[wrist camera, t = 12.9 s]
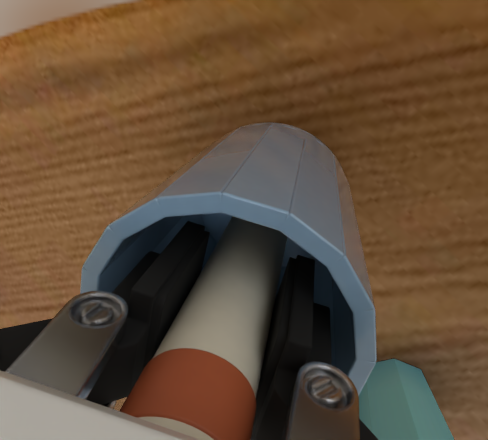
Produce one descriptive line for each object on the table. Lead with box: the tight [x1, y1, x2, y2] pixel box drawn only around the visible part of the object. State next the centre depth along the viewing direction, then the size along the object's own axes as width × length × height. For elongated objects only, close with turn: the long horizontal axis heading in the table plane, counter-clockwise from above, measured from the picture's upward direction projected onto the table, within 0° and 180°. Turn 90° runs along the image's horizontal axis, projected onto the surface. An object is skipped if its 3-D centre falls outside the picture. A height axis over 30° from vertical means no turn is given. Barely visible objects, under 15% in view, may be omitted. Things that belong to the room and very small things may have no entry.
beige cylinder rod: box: [120, 216, 287, 440], centre depth 12 cm, size 2×2×14 cm
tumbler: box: [80, 122, 377, 396], centre depth 14 cm, size 8×8×10 cm
